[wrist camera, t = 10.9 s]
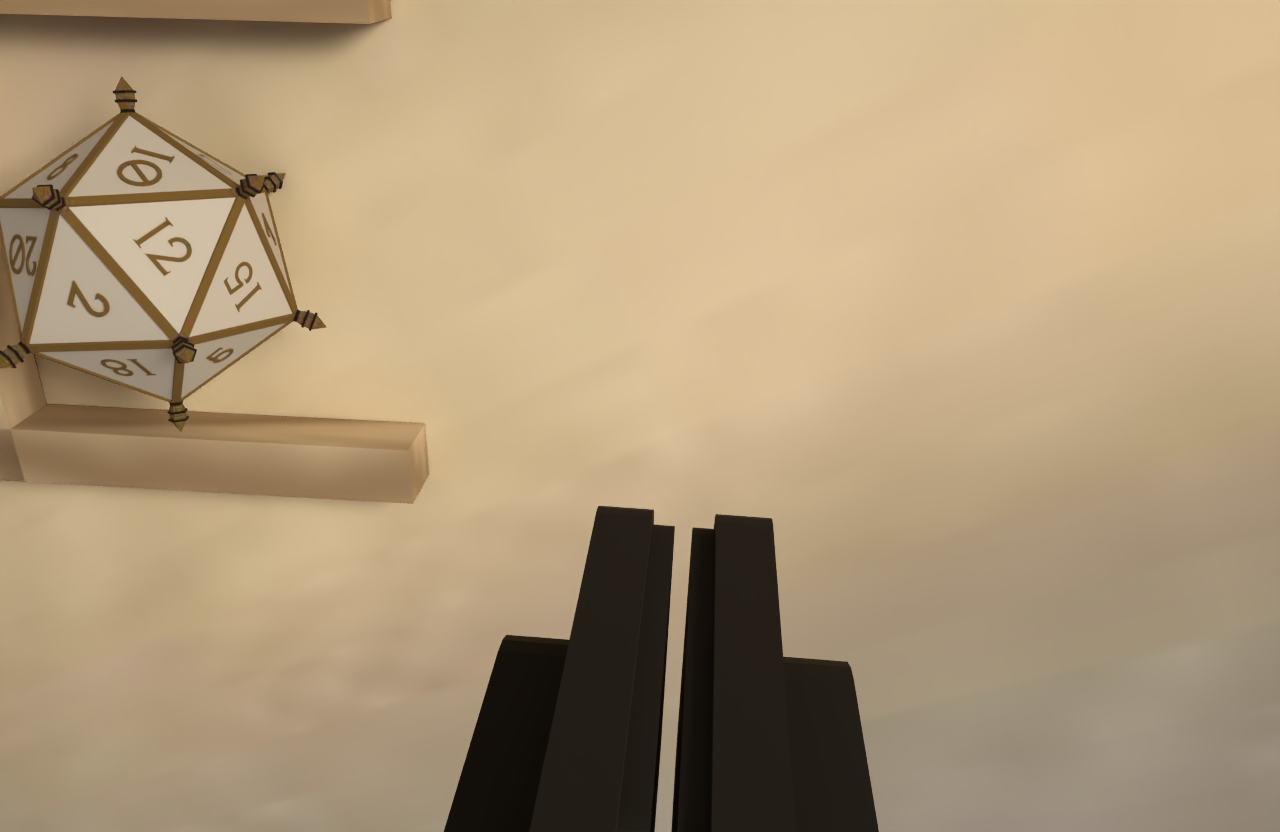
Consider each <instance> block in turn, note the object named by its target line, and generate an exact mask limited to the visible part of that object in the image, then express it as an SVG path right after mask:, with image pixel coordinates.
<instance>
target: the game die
mask: <svg viewBox="0 0 1280 832" xmlns="http://www.w3.org/2000/svg"><path fill="white" fill-rule="evenodd" d="M113 93H115V95H116V99H117V100H115V102H117V103H118V105H119V107H120V109H121V113H119V114H118V115H116V116H115V117H114V118H112V119H111V120H109V121H108V122H106V123H105V124H104V125H102V126H101V127H99V128H98V129H96V130H95V131H94V132H92V133H91V134H89V135H88V136H86V137H85V138H84V139H82V140H81V141H79V142H78V143H76V144H75V145H74V146H72V147H71V148H69V149H68V150H67V151H65V152H64V153H62V154H61V155H59V156H58V157H57V158H55V159H54V160H52V161H51V162H49V163H48V164H47V165H45V166H44V167H42V168H41V169H39V170H38V171H37V172H35V173H34V174H32V175H31V176H29V177H28V178H27V179H25V180H24V181H22V182H21V183H20V184H18V185H17V186H15V187H14V188H12V189H11V190H10V191H8V192H7V193H5V194H4V195H2V196H1V197H0V239H1V244H2V249H3V255H4V260H5V265H6V270H7V276H8V281H9V286H10V291H11V296H12V302H13V307H14V312H15V317H16V323H17V328H18V333H19V338H20V342H19V343H18V344H17V345H13V346H10V345H8V346H7V348H6V349H5V350H3V351H1V350H0V368H8V367H11V368H16V366H15V365H17V364H18V363H19V362H22V363H23V362H24V360H23V359H24V358H25V356H26V355H27V354H29V353H32V354H35V355H37V356H40V357H43V358H46V359H49V360H52V361H54V362H57V363H60V364H63V365H66V366H69V367H71V368H74V369H77V370H80V371H83V372H85V373H88V374H91V375H94V376H97V377H100V378H102V379H105V380H108V381H111V382H114V383H117V384H119V385H122V386H125V387H128V388H131V389H134V390H136V391H139V392H142V393H145V394H148V395H151V396H153V397H156V398H159V399H162V400H165V401H168V402H169V403H170V409H169V411H167V413H168V414H169V415H170V419H168V421H170V422H172V423H173V424H174V425H175V426H176V427H177V428H178V429H179V430H180V432H182V429H183V427H184V425H185V422H186V421H187V420H188V418H189V416H187V414H186V411H187V408H185V407H184V405H183V400H184V399H185V398H187V397H188V396H190V395H191V394H192V393H194V392H195V391H197V390H198V389H199V388H201V387H202V386H204V385H205V384H206V383H208V382H209V381H210V380H212V379H213V378H215V377H216V376H217V375H219V374H220V373H222V372H223V371H224V370H226V369H227V368H229V367H230V366H231V365H233V364H234V363H236V362H237V361H238V360H240V359H241V358H243V357H244V356H245V355H247V354H248V353H249V352H251V351H252V350H254V349H255V348H256V347H258V346H259V345H261V344H262V343H263V342H265V341H266V340H268V339H269V338H270V337H272V336H273V335H275V334H276V333H277V332H279V331H280V330H281V329H283V328H284V327H286V326H287V325H288V324H290V323H291V322H293V321H296V322H298V323H299V324H300V325H302V326H301V327H307V328H309V330H310V331H311V329H318V328H325V327H326V326H325V324H324V323H323V322H322V321H321V319H320V318H319V317H318V316H317V313H315V314H313V313H310V312H309V310H307V312H305V311H299V310H298V309H297V305H296V301H295V298H294V294H293V290H292V286H291V282H290V278H289V275H288V271H287V267H286V263H285V259H284V255H283V252H282V248H281V244H280V240H279V236H278V232H277V228H276V225H275V221H274V217H273V213H272V209H271V205H270V202H269V198H268V194H267V193H268V192H276V189H278V188H279V189H281V188H282V183H283V182H282V181H283V179H284V176H285V173H282V174H276V173H275V172H272V173H268V176H267V177H264V176H257V175H256V174H247V175H244V174H243V173H241V172H239V171H237V170H236V169H234V168H232V167H230V166H229V165H227V164H225V163H223V162H222V161H220V160H218V159H216V158H215V157H213V156H211V155H209V154H208V153H206V152H204V151H202V150H201V149H199V148H197V147H195V146H194V145H192V144H190V143H188V142H187V141H185V140H183V139H181V138H180V137H178V136H176V135H174V134H173V133H171V132H169V131H167V130H166V129H164V128H162V127H160V126H159V125H157V124H155V123H153V122H152V121H150V120H148V119H146V118H145V117H143V116H141V115H139V114H138V113H136V112H135V110H134V106H135V102H137V100H135V95H134V93H136V91H134V90H133V89H132V88H131V87H130V86H129V84H128V83H127V82H126V81H125V80H124V79H123V77H121V79H120V81H119V83H118V85H117V87H116V89H115V91H113Z"/></svg>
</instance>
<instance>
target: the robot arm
mask: <svg viewBox="0 0 1280 832" xmlns="http://www.w3.org/2000/svg"><path fill="white" fill-rule="evenodd" d="M674 530H675V526H664V525H654V510H649V509H635V508H621V507H608V506H598V508H597V512H596V517H595V521H594V526H593V531H592V536H591V540H590V545H589V550H588V555H587V559H586V564H585V569H584V574H583V578H582V583H581V588H580V593H579V598H578V602H577V607H576V612H575V617H574V621H573V626H572V631H571V636H570V640H564V639H552V638H539V637H526V636H514V635H506V636H505V637H504V639H503V640H502V643H501V645H500V648H499V651H498V654H497V657H496V660H495V664H494V667H493V670H492V674H491V677H490V680H489V684H488V687H487V690H486V694H485V697H484V700H483V703H482V707H481V710H480V713H479V717H478V720H477V723H476V727H475V730H474V733H473V737H472V740H471V743H470V747H469V750H468V753H467V757H466V760H465V763H464V766H463V770H462V773H461V776H460V780H459V783H458V786H457V790H456V793H455V796H454V800H453V803H452V806H451V810H450V813H449V816H448V820H447V823H446V826H445V829H444V832H654V830H655V817H656V804H657V791H658V777H659V764H660V750H661V735H662V720H663V704H664V688H665V672H666V657H667V641H668V625H669V610H670V594H671V578H672V562H673V547H674ZM672 832H879V831H878V824H877V818H876V812H875V806H874V800H873V794H872V788H871V782H870V776H869V770H868V764H867V758H866V751H865V745H864V739H863V733H862V727H861V721H860V715H859V709H858V703H857V697H856V691H855V685H854V679H853V675H852V670H851V667H850V665H849V664H848V662H843V661H830V660H817V659H805V658H792V657H783V650H782V637H781V624H780V611H779V598H778V584H777V571H776V558H775V545H774V532H773V522H772V519H771V518H760V517H746V516H732V515H718V514H716V516H715V523H714V529H705V528H693V530H692V543H691V556H690V570H689V584H688V597H687V611H686V625H685V638H684V652H683V666H682V679H681V693H680V707H679V720H678V734H677V748H676V764H675V781H674V798H673V816H672Z"/></svg>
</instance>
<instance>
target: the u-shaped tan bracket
mask: <svg viewBox="0 0 1280 832" xmlns="http://www.w3.org/2000/svg"><path fill="white" fill-rule="evenodd" d="M0 14H32V15H68V16H104V17H140V18H176V19H212V20H248V21H284V22H320V23H356V24H371V23H374V22H378V21H382V20H386V19H389V18H391V6H390V0H0ZM19 342H20V338H19V333H18V328H17V323H16V317H15V312H14V307H13V302H12V296H11V291H10V286H9V281H8V276H7V270H6V265H5V260H4V255H3V249H2V244H1V239H0V350H1V351H3V350H5V349H6V348H7V346H8V345H10V346H13V345H17V344H18V343H19ZM23 360H24V362H23V363H22V362H19V363H18V364H17V365H15V366H16V368H11V367H8V368H0V480H6V481H23V482H41V483H58V484H76V485H94V486H111V487H129V488H146V489H164V490H182V491H199V492H217V493H234V494H252V495H270V496H287V497H305V498H322V499H340V500H358V501H375V502H393V503H410V504H413V503H414V501H415V499H416V497H417V495H418V494H419V492H420V490H421V488H422V486H423V484H424V483H425V481H426V479H427V477H428V475H429V471H428V459H427V446H426V434H425V424H422V423H403V422H384V421H365V420H345V419H326V418H307V417H287V416H268V415H249V414H230V413H210V412H191V411H186V414H187V416H189V418H188V420H187V421H186V422H185V425H184V427H183V429H182V432H180V430H179V429H178V428H177V427H176V426H175V425H174V424H173V423H172V422H170V421H168V419H170V415H169V414H168V413H167V411H169V410H153V409H133V408H114V407H95V406H76V405H56V404H46V400H45V397H44V393H43V389H42V385H41V381H40V377H39V374H38V370H37V366H36V362H35V358H34V354H32V353H29V354H27V355H26V356H25V358H24V359H23Z"/></svg>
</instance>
